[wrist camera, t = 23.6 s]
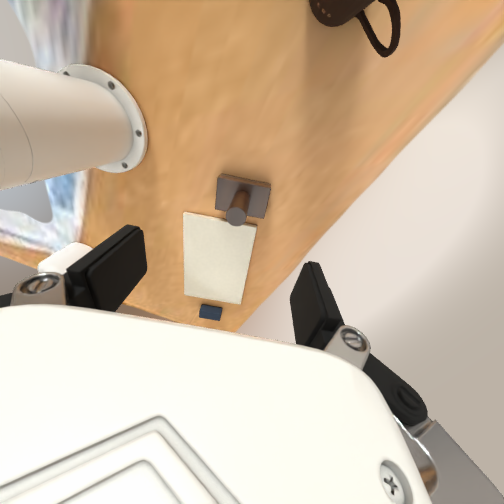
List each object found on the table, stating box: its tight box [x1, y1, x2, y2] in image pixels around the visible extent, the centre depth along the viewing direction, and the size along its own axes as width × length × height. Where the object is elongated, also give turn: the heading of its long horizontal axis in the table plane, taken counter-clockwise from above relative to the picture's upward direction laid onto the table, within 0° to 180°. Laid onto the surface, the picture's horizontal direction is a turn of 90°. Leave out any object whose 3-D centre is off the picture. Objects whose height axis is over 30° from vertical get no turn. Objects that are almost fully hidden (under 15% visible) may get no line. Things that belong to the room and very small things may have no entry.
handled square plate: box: [215, 174, 271, 226], centre depth 28 cm, size 8×5×10 cm, turn 79°
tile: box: [183, 212, 257, 305], centre depth 40 cm, size 13×20×1 cm, turn 170°
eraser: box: [199, 304, 222, 321], centre depth 48 cm, size 5×2×2 cm, turn 79°
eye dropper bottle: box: [38, 242, 93, 275], centre depth 36 cm, size 4×6×12 cm
